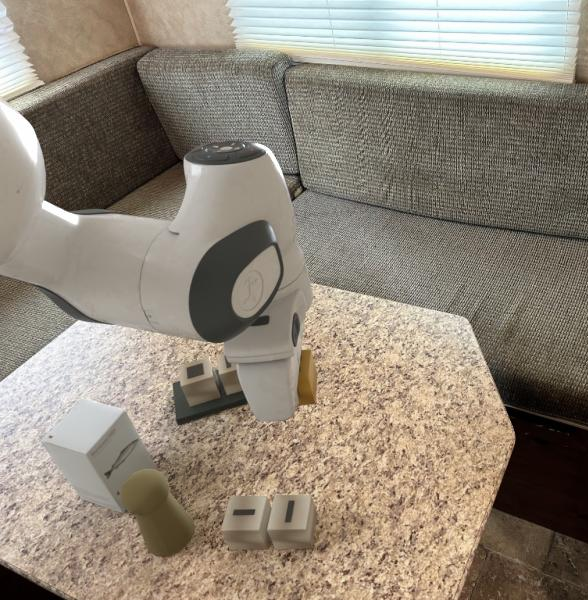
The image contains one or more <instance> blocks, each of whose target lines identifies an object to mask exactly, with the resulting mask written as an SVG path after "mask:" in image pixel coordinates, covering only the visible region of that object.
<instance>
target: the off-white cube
mask: <svg viewBox="0 0 588 600" xmlns="http://www.w3.org/2000/svg"><path fill="white" fill-rule="evenodd" d="M226 506H227V507H226V509H225V513H224V517H223V519H222V520H223V521H222V525H221V528H220V532H221V535H222V537H223V538H224V540H225V542H226V545H227V546H228V548H229V551H259V550H261V551H262V550H264V551H265V550H268V549H269V544H270V540H271V538H270V536H269V533H268V531H267V528H268V523H269V518H270V514H271V509H272V504H271V503H270V500H269V497H268V495H267V494H263V495H262V494H261V495H260V494H259V495H258V494H257V495H255V494H253V495H230V496H229V499H228V502H227V505H226Z"/></svg>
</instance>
